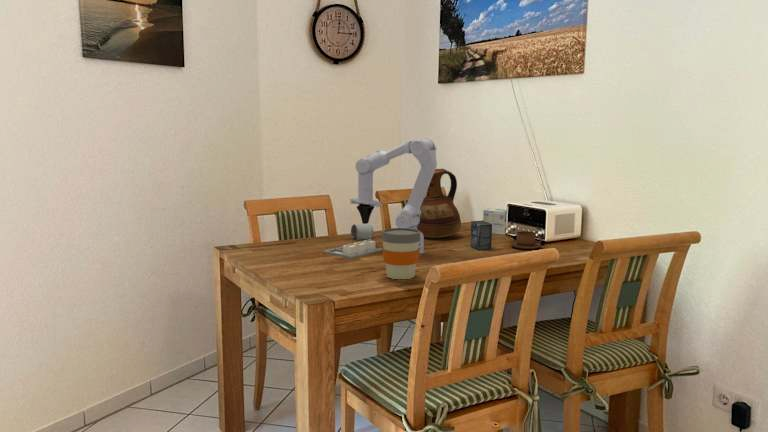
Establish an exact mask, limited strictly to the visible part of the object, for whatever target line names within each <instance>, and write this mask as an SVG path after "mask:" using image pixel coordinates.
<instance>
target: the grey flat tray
mask: <svg viewBox="0 0 768 432" xmlns="http://www.w3.org/2000/svg"><path fill="white" fill-rule="evenodd" d="M351 244H352V245H353V243H351ZM382 248H383V247H382ZM382 248H378V247H375V250H373V251H369V250H366V252H365V253H358V252H356V255H352V256H350V255H345V254H343V246H341V247H340V246H339V247H336V248H331V249H326V250H323V254H326V255H331V256H335V257H340V258H344V259H349V260H352V259H355V258H360V257H364V256H368V255H372V254H375V253H381V252H383V250H382Z"/></svg>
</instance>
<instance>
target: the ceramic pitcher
mask: <svg viewBox="0 0 768 432" xmlns="http://www.w3.org/2000/svg"><path fill="white" fill-rule="evenodd" d="M444 175H448V177H449V180H450V189H449V191H448V193H447V195H445V194H444V192H443V190H442V185H441V182H442V181H441V180H442V177H443V176H444ZM457 188H458V181H457V178H456V175H455V174H454V173H452V172H451V171H449V170H447V169H445V168H436V169H435V172H434V174H433V177H432V179H431V182H430V184H429V187H428V189H427V192H426V195H425V197H424V199H423V202H422V204H421V207H420V210H421V213H420V222H419V224H418V225H417V230H419V231H420V232H421V233H423V236H424V238H430V239H431V238H433V239H434V238H435V239H436V238H445V237H450V236H453V235H455V234H457V233H459V232H460V231H461V229H462V228H461V227H462V220H461V214H460V212H459V211H458V208H457V206H456V205H455V204H454V199H455V196H456V192H457Z"/></svg>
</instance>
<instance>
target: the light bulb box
mask: <svg viewBox="0 0 768 432" xmlns="http://www.w3.org/2000/svg"><path fill="white" fill-rule="evenodd" d="M507 210H508V209H502V208H501V209H500V208H491V207H490V208H485V209H483V213H482V214H483V215H482V217H483V218H482V221H485V222H488V223H491V224H492V235H502V236H503V235H507V234H506V215H507Z"/></svg>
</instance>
